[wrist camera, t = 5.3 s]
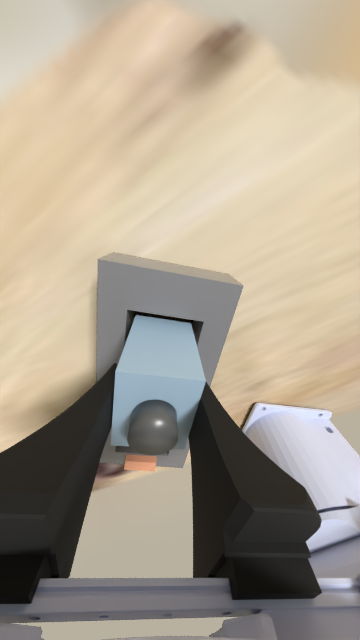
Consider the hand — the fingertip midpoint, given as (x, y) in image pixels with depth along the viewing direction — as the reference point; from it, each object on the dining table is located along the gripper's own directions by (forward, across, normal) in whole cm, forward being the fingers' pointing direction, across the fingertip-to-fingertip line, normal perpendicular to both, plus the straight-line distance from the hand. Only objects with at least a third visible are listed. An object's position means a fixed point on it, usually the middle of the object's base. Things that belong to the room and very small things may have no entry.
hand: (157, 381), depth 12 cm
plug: (+4, 0, 0) cm, 4 cm away
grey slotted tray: (+6, 0, +4) cm, 8 cm away
